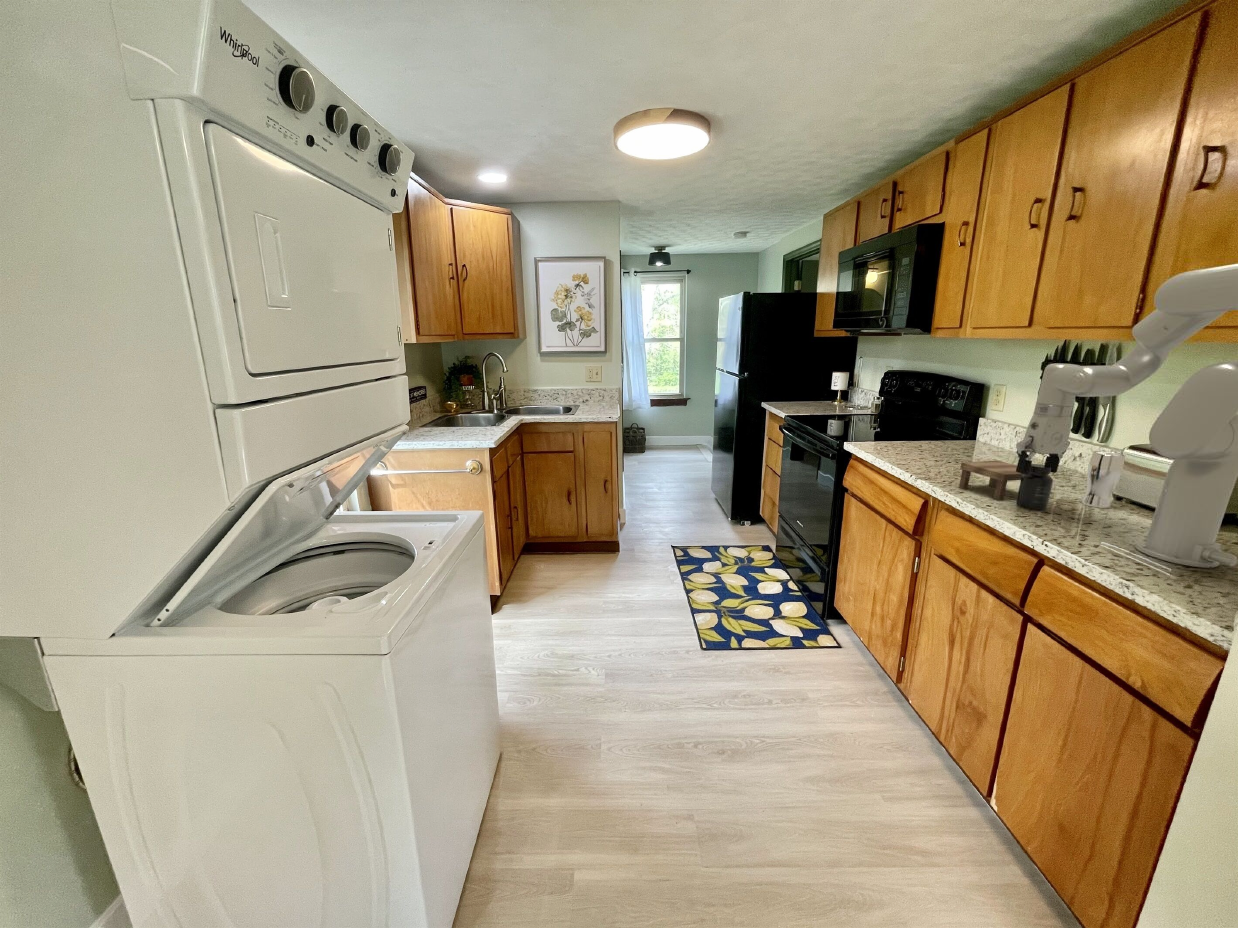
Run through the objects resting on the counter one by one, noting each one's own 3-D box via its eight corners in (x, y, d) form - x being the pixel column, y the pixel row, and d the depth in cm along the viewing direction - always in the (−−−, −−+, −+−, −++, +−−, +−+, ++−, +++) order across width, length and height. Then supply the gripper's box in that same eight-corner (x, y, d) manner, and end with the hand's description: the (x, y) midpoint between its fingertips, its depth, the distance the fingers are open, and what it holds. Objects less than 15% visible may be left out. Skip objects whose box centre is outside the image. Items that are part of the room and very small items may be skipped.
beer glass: (1119, 508, 139) (1134, 456, 135) (1093, 508, 139) (1107, 456, 135) (1096, 500, 146) (1110, 450, 142) (1072, 500, 146) (1085, 450, 142)
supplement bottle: (1047, 507, 140) (1057, 465, 137) (1045, 513, 135) (1056, 470, 132) (1016, 501, 144) (1025, 461, 141) (1013, 507, 139) (1023, 465, 136)
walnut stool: (1036, 498, 147) (1042, 472, 145) (998, 501, 144) (1004, 474, 142) (992, 484, 161) (997, 460, 159) (956, 487, 157) (961, 462, 155)
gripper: (1041, 414, 127) (1024, 478, 132) (1092, 412, 131) (1074, 474, 136) (1013, 409, 134) (998, 470, 139) (1062, 407, 138) (1046, 467, 143)
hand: (1035, 472), depth 138 cm, fingers open, 9 cm apart
